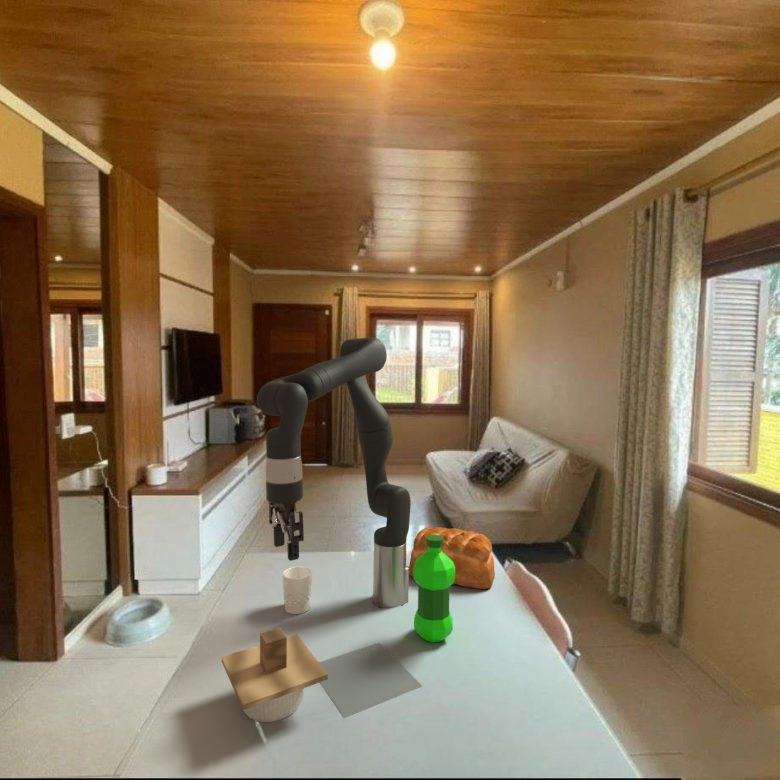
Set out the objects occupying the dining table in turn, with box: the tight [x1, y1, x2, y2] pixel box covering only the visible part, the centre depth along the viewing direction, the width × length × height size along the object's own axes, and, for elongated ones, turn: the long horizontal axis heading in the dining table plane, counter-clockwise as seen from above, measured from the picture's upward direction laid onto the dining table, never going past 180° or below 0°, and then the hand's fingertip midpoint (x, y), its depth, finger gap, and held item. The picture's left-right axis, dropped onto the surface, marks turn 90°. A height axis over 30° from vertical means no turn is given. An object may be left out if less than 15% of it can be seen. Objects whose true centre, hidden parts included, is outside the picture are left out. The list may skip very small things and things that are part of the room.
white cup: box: [282, 566, 313, 615], centre depth 131 cm, size 8×8×10 cm
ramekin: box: [243, 688, 305, 723], centre depth 94 cm, size 13×13×7 cm
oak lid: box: [220, 627, 328, 711], centre depth 93 cm, size 16×16×7 cm
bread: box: [408, 526, 496, 590], centre depth 152 cm, size 14×26×16 cm, turn 72°
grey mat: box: [318, 642, 423, 719], centre depth 102 cm, size 18×18×1 cm
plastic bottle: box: [413, 535, 455, 643], centre depth 117 cm, size 10×10×25 cm
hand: (286, 552), depth 101 cm, fingers open, 8 cm apart
